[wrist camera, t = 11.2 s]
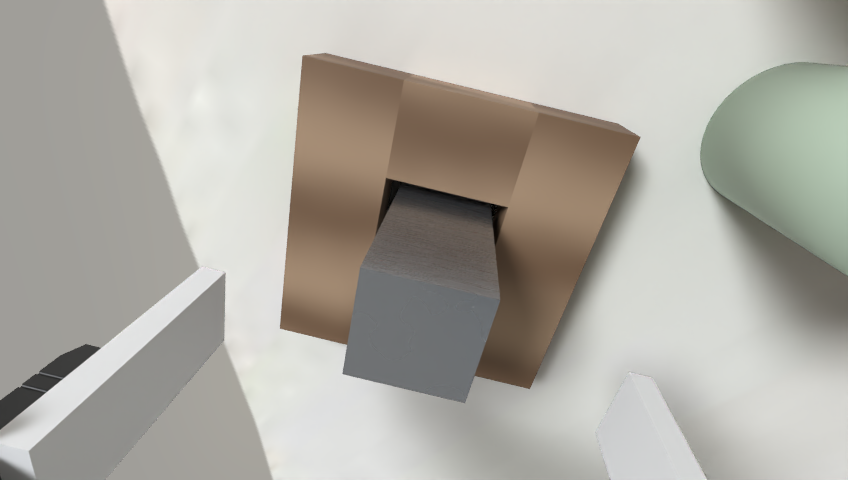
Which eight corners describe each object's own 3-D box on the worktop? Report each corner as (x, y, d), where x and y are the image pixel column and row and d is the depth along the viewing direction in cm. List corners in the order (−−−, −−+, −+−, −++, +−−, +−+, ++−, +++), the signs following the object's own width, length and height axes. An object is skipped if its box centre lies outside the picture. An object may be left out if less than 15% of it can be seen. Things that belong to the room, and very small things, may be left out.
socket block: (523, 352, 26) (529, 388, 23) (299, 298, 26) (279, 328, 23) (617, 123, 20) (640, 137, 17) (325, 53, 20) (302, 55, 17)
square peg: (467, 266, 24) (464, 403, 15) (391, 248, 24) (342, 374, 15) (489, 193, 22) (500, 300, 13) (406, 174, 22) (359, 267, 13)
